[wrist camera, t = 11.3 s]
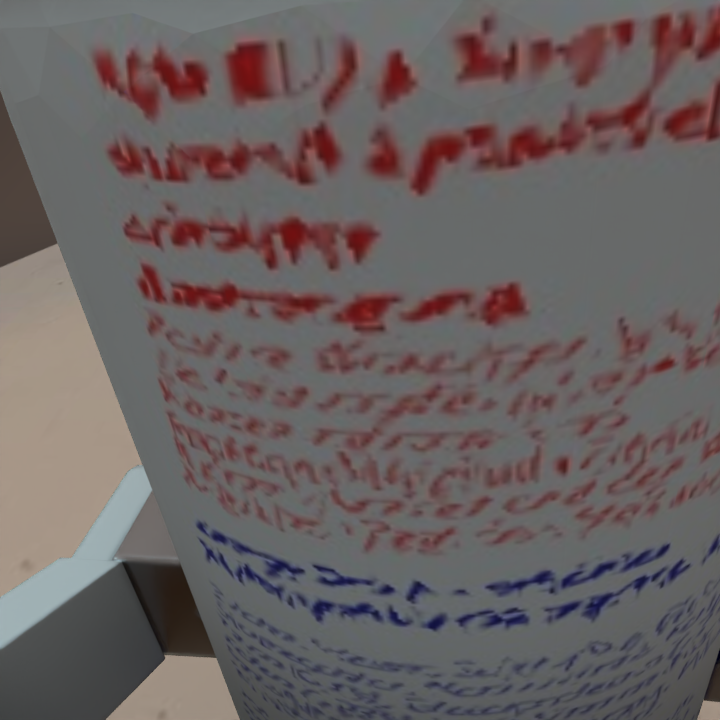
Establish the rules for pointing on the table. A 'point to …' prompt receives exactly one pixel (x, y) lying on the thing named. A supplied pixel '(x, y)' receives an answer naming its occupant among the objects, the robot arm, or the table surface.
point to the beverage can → (407, 333)
